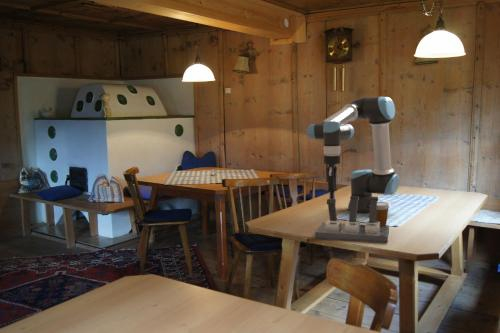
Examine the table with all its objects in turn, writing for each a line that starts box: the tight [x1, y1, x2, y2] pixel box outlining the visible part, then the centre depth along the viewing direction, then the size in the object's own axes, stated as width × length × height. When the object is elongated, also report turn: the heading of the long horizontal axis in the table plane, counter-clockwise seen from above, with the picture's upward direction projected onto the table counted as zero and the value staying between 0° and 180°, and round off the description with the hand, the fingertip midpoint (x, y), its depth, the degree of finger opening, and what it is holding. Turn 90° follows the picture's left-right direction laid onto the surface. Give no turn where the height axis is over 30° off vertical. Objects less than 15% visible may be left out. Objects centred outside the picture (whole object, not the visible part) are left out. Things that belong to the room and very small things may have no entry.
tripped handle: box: [326, 198, 338, 221], centre depth 221 cm, size 2×4×13 cm
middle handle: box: [348, 195, 359, 222], centre depth 225 cm, size 2×4×13 cm
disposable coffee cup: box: [376, 201, 390, 226], centre depth 235 cm, size 10×10×12 cm
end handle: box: [368, 196, 379, 223], centre depth 222 cm, size 2×4×13 cm
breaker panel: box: [314, 218, 390, 244], centre depth 223 cm, size 18×32×6 cm, turn 71°
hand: (332, 205), depth 221 cm, fingers closed
